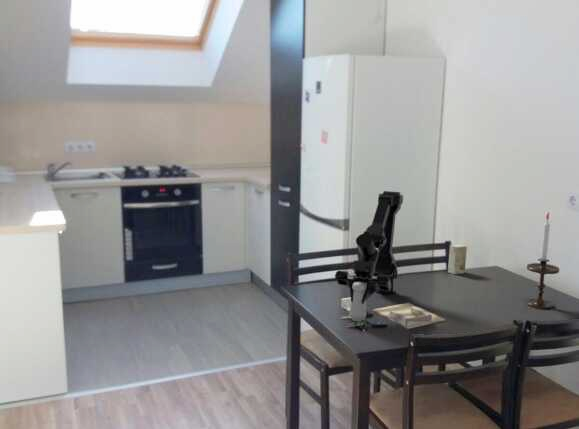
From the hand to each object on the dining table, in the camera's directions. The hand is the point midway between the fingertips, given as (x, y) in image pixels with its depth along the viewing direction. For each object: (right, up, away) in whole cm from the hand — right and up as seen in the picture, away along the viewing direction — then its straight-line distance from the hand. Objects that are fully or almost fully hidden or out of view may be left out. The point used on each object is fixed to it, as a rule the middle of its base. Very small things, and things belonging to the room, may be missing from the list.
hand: (357, 302), depth 199 cm
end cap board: (+18, -6, +7) cm, 20 cm away
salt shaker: (0, -6, +3) cm, 7 cm away
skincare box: (+50, +4, +61) cm, 79 cm away
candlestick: (+69, -4, +20) cm, 72 cm away
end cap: (0, -4, +13) cm, 14 cm away
